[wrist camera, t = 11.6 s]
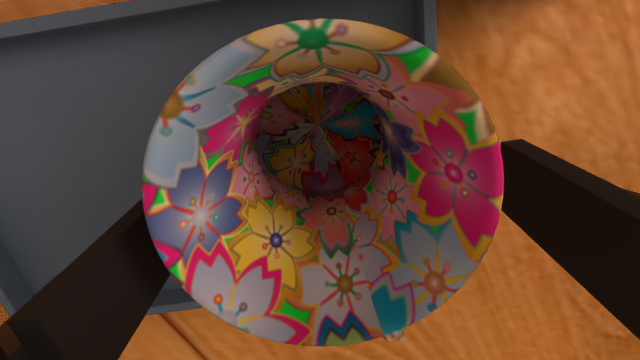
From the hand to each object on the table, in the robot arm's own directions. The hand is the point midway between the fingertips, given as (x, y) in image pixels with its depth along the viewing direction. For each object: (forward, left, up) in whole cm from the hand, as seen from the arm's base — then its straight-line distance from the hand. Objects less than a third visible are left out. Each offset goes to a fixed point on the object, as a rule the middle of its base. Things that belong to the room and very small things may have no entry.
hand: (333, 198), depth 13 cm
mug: (0, 0, -6) cm, 6 cm away
